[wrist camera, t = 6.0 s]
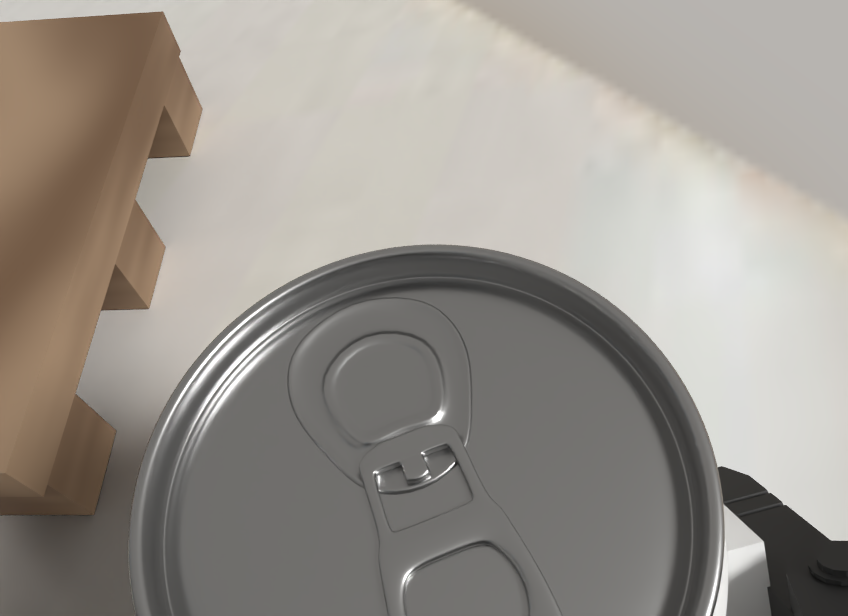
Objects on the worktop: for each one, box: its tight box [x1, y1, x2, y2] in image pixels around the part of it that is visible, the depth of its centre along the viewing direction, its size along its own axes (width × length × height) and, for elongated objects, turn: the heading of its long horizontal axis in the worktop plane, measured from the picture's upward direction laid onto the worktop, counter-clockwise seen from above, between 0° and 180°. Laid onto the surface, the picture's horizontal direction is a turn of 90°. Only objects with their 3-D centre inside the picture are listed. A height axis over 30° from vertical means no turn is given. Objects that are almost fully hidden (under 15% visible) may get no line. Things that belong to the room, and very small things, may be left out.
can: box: [128, 245, 728, 616], centre depth 12 cm, size 6×6×12 cm
